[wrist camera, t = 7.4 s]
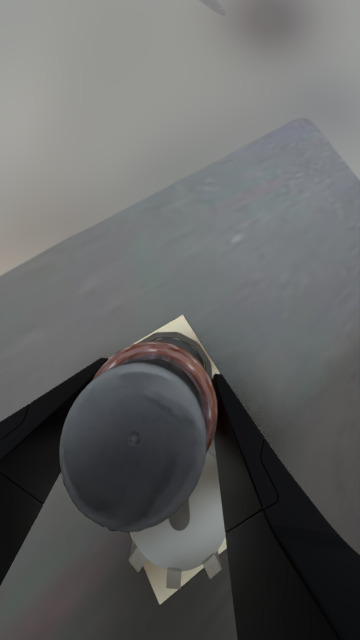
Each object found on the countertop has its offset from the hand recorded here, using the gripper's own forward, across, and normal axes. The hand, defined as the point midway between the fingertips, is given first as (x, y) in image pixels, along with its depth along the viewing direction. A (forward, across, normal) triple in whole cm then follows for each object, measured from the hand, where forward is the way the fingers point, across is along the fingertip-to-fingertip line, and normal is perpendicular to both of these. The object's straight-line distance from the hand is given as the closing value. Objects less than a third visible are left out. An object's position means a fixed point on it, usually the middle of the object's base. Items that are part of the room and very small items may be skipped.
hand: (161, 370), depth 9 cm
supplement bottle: (+4, 0, +6) cm, 7 cm away
